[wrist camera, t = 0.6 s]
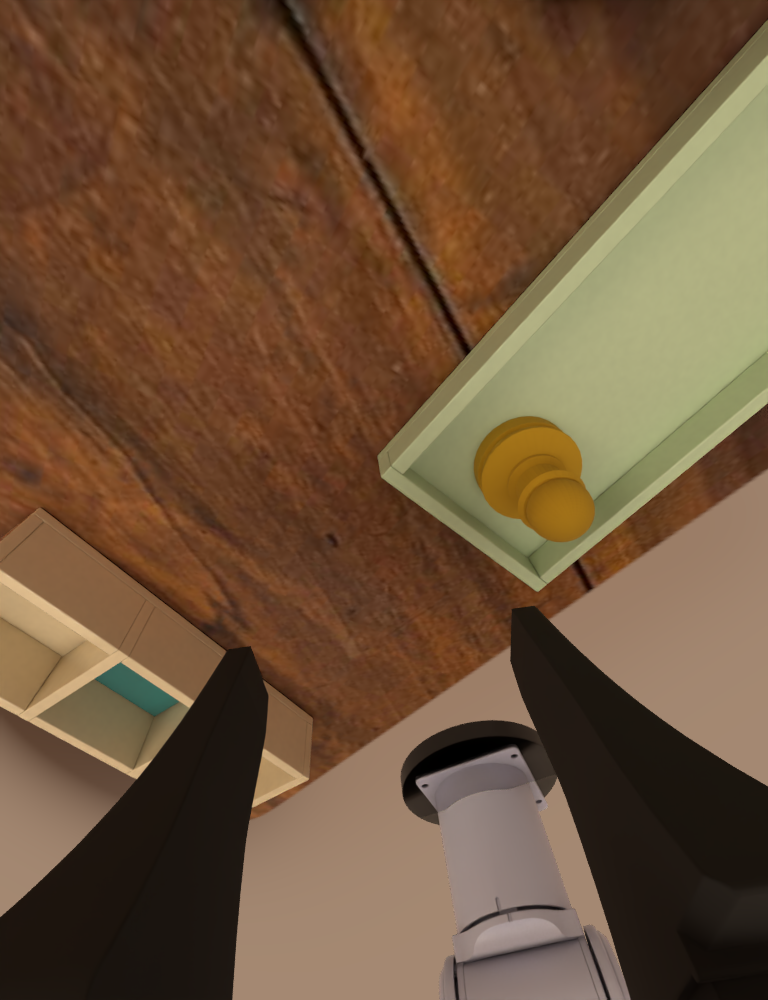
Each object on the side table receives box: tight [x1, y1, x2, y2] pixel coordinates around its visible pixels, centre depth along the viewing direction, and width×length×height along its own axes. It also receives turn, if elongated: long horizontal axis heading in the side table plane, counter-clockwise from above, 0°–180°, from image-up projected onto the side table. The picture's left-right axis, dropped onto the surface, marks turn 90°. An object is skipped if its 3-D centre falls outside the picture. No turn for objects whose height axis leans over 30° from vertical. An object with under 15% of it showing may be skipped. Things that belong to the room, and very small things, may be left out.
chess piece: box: [474, 416, 595, 542], centre depth 17 cm, size 4×4×5 cm
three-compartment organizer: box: [0, 508, 313, 808], centre depth 22 cm, size 18×6×4 cm, turn 34°
